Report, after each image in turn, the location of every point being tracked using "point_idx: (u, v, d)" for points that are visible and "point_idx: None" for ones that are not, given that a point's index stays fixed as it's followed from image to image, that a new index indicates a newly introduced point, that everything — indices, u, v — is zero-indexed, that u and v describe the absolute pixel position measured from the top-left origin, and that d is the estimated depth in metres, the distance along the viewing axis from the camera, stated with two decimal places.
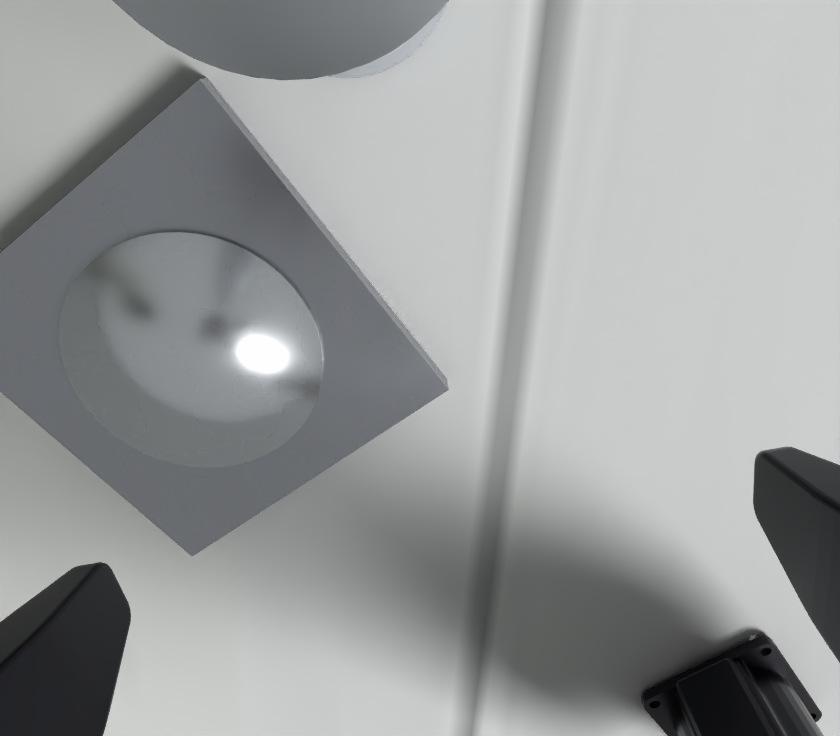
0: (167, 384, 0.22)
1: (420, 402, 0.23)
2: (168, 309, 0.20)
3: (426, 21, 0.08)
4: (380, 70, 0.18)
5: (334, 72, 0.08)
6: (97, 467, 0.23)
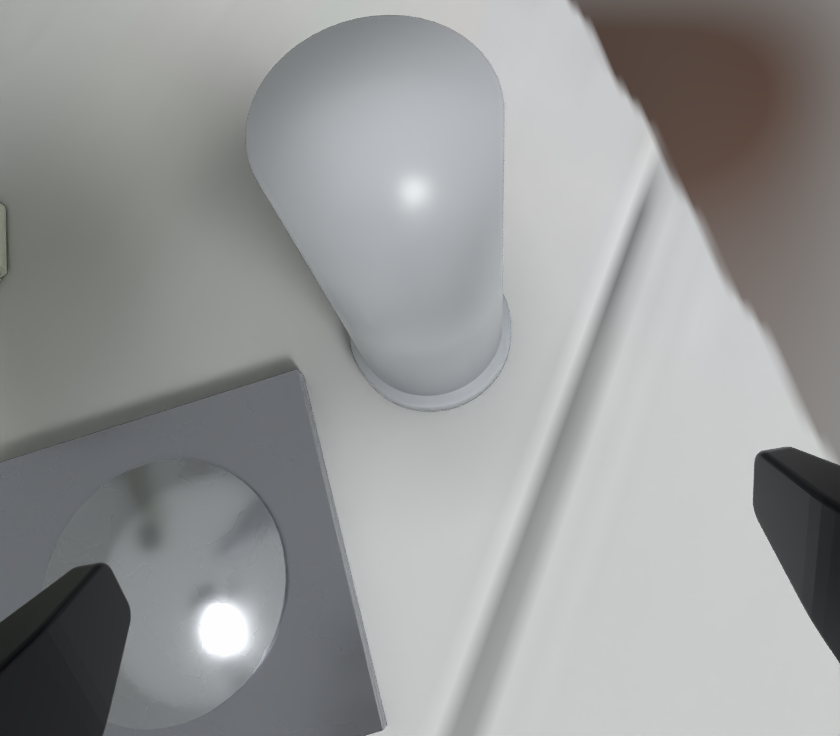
0: None
1: (347, 734, 0.20)
2: (171, 528, 0.22)
3: (416, 223, 0.12)
4: (427, 403, 0.22)
5: (352, 233, 0.12)
6: None
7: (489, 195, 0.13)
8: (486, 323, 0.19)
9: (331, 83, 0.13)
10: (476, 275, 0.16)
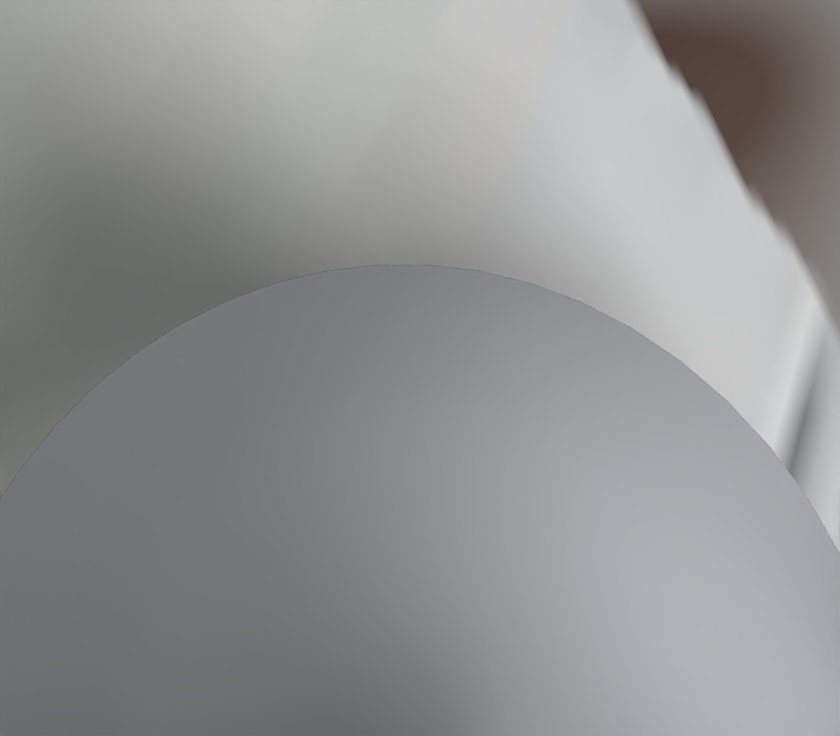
0: None
1: None
2: None
3: None
4: None
5: None
6: None
7: None
8: None
9: (229, 524, 0.04)
10: None
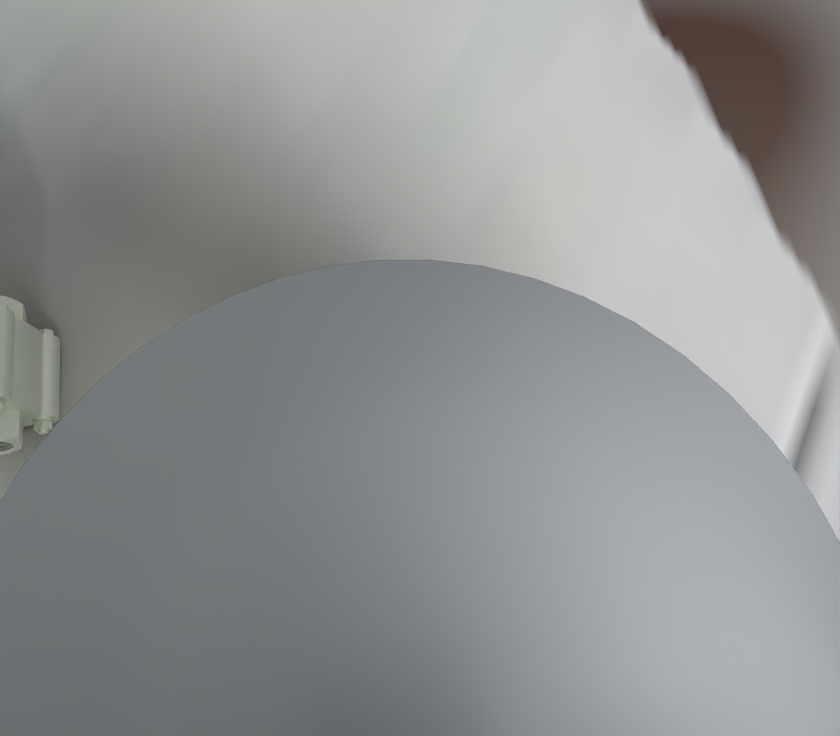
0: None
1: None
2: None
3: None
4: None
5: None
6: None
7: None
8: None
9: (233, 517, 0.04)
10: None
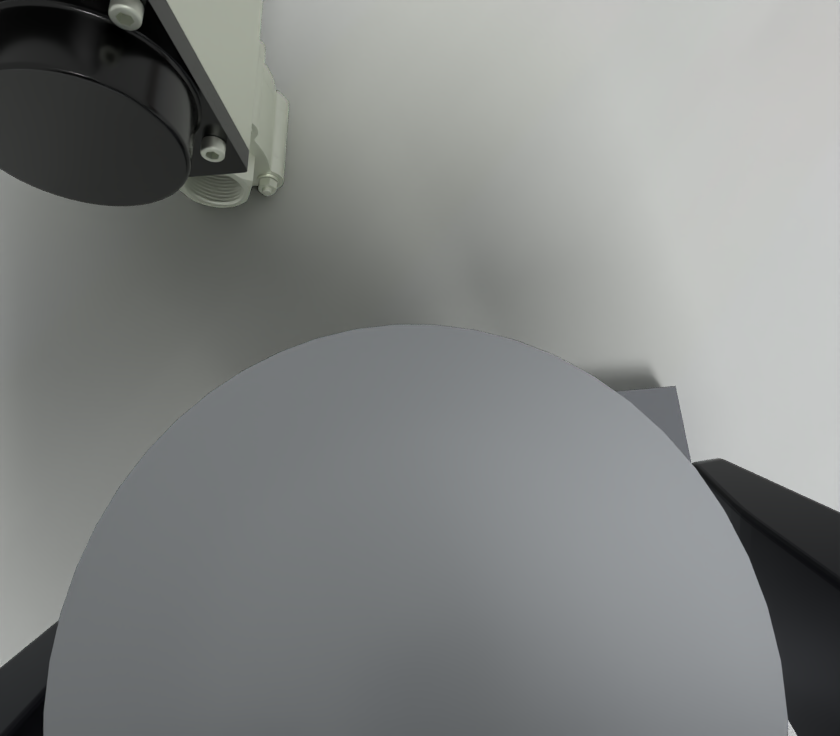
0: None
1: None
2: None
3: None
4: None
5: None
6: None
7: None
8: None
9: (284, 527, 0.05)
10: None
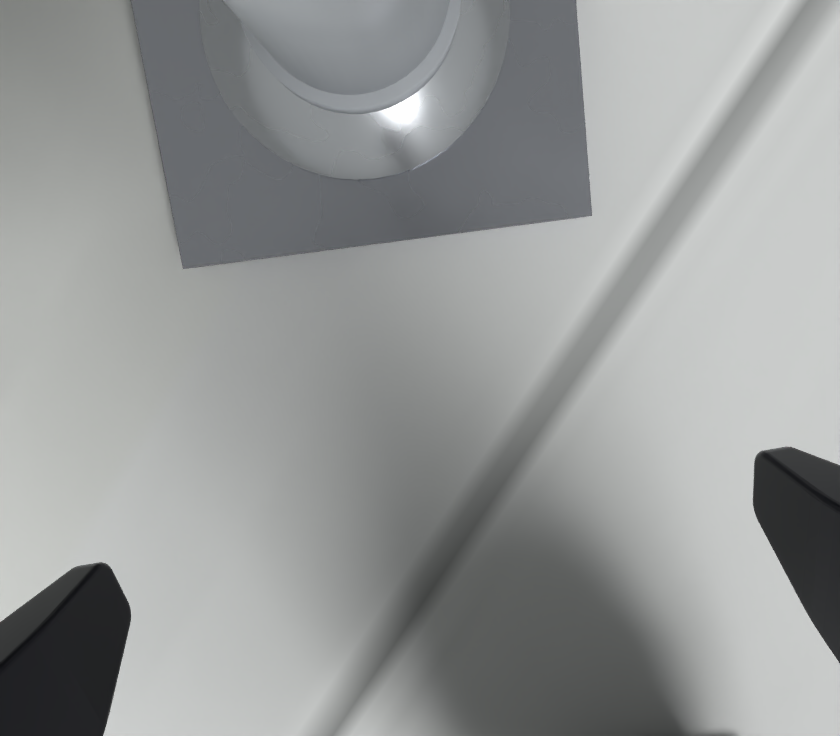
0: None
1: (554, 214, 0.19)
2: None
3: None
4: (354, 105, 0.17)
5: None
6: (157, 89, 0.18)
7: None
8: None
9: None
10: None
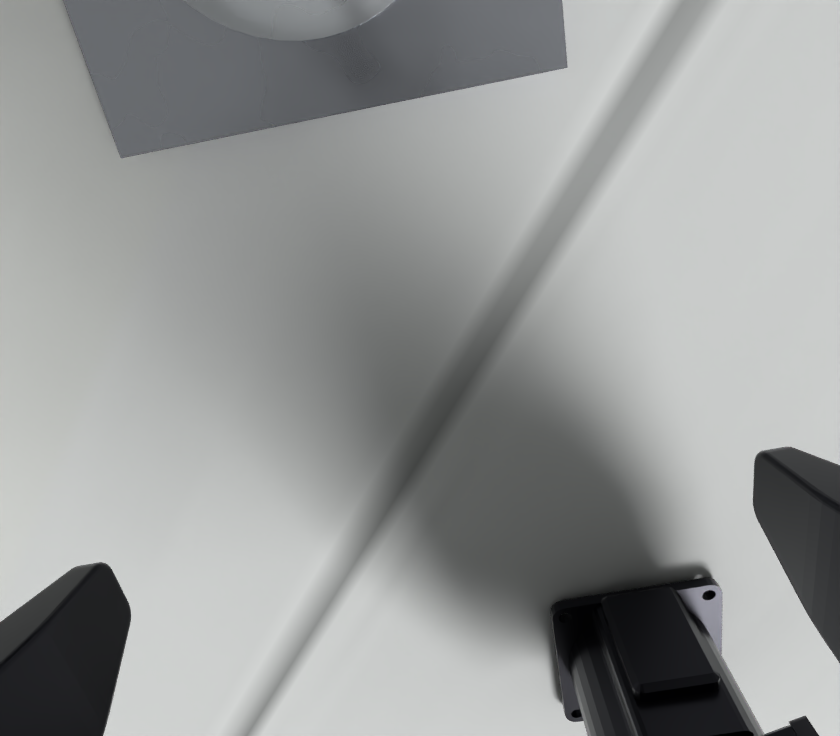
0: None
1: (525, 69, 0.17)
2: None
3: None
4: None
5: None
6: None
7: None
8: None
9: None
10: None
